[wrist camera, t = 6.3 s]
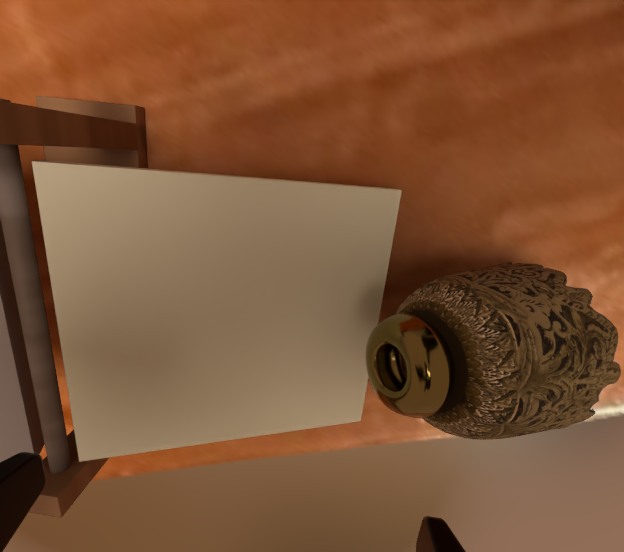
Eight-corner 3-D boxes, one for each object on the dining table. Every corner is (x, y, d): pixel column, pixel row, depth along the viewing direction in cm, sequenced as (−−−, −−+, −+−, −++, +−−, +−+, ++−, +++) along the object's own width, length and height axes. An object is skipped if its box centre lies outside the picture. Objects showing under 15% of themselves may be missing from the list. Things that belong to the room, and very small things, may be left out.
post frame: (144, 107, 17) (-27, 65, 9) (160, 403, 23) (63, 530, 15) (49, 98, 18) (-194, 49, 10) (88, 393, 23) (-43, 512, 16)
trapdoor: (369, 182, 19) (401, 190, 16) (339, 384, 23) (360, 421, 20) (-232, 132, 12) (-382, 129, 9) (-117, 433, 16) (-191, 500, 13)
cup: (319, 384, 17) (436, 360, 20) (431, 540, 11) (566, 466, 15) (355, 234, 14) (482, 240, 18) (531, 334, 8) (663, 310, 12)
